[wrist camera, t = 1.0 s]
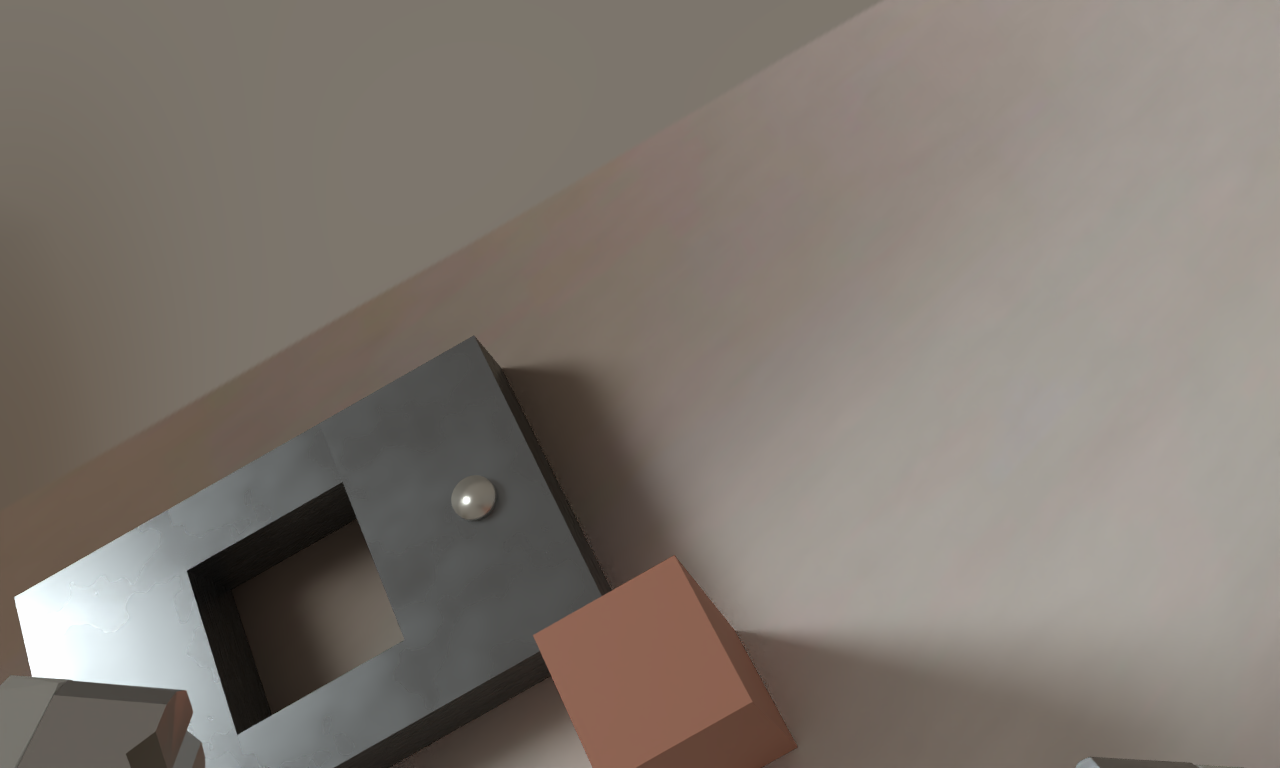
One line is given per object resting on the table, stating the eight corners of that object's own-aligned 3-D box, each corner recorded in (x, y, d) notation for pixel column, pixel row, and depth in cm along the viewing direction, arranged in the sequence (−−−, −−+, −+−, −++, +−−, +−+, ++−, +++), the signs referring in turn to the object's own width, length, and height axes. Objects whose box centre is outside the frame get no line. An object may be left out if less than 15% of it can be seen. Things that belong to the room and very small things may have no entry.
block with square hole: (500, 367, 47) (471, 332, 44) (631, 630, 42) (607, 609, 39) (67, 614, 47) (8, 595, 44) (140, 907, 42) (79, 908, 39)
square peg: (734, 630, 41) (674, 555, 32) (797, 747, 39) (752, 701, 30) (623, 692, 41) (532, 635, 32) (681, 812, 39) (601, 787, 30)
